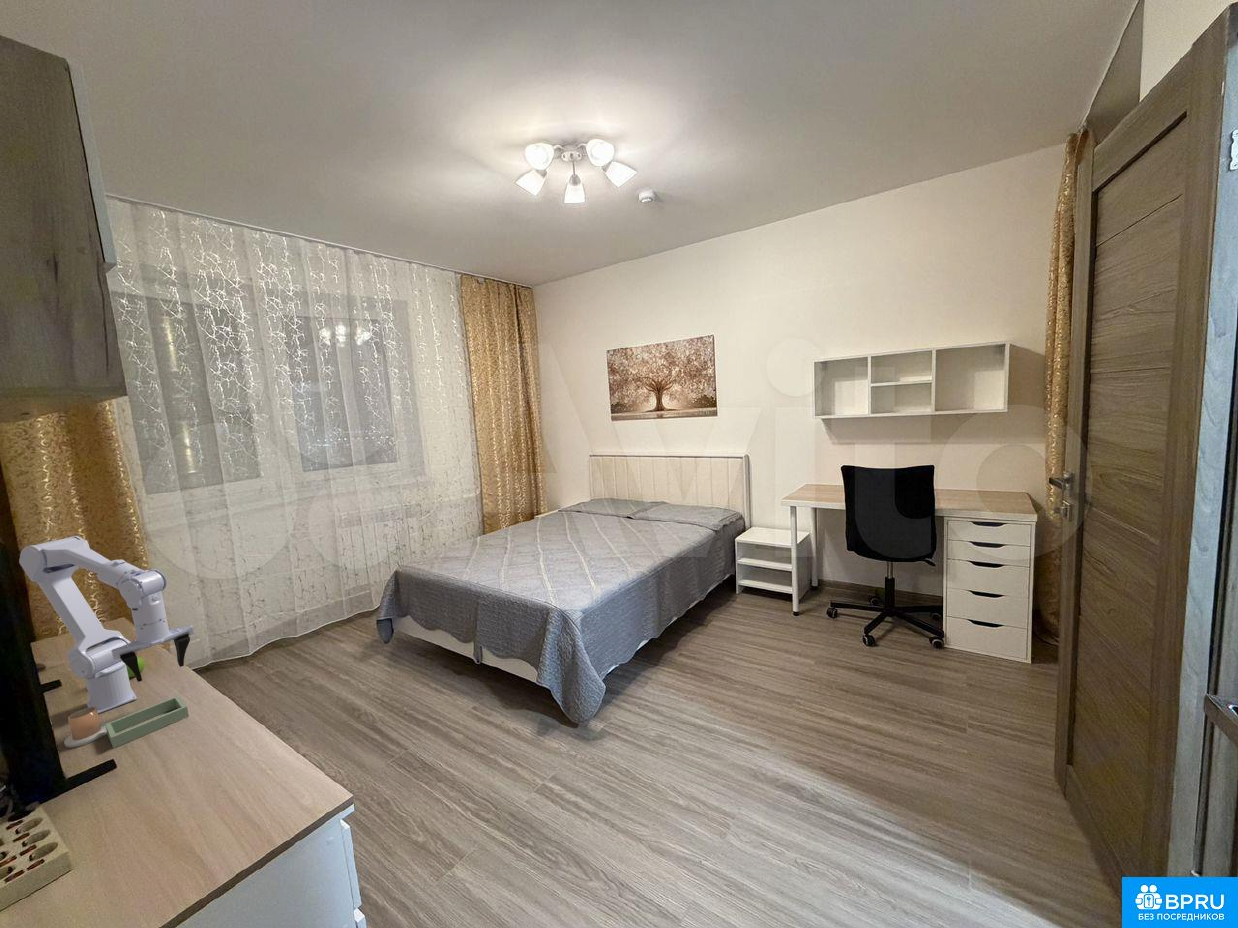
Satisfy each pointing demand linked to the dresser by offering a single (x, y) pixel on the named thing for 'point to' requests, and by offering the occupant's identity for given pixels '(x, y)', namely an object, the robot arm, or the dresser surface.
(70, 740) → the pale grey saucer
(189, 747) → the dresser surface
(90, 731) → the terracotta pot
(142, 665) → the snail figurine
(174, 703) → the box
